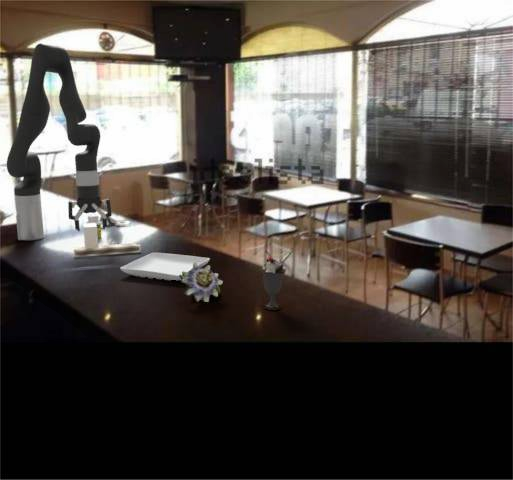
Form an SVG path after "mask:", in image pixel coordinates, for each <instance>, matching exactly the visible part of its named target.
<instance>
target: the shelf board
mask: <svg viewBox="0 0 513 480" xmlns="http://www.w3.org/2000/svg"><path fill="white" fill-rule="evenodd" d="M98 246H99V248H89V249H85V246H77V247H73V256H74V258H83V257H85V258H86V257H97V256H98V257H99V256H108V255H121V254H134V253H135V254H138V253H142V252H141V251H142V250H141V244H137V243H136V242H133V243H132V242H131V243H120V244H119V243H118V244H116V243H115V244H105V245H103V244H102V245H98Z"/></svg>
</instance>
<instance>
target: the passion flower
mask: <svg viewBox="0 0 513 480" xmlns="http://www.w3.org/2000/svg"><path fill="white" fill-rule="evenodd" d="M187 273H188V275H187V276H185V274H187ZM183 276H184V278H183ZM179 277H180V278H181V280H180V282H181V283H183V284H185V285H186V286H187V288H186V290H185V291H184V295H185V296H186V297H187V296H192V295H193V297H194V298H193V299H194V300H195V301H196V302H197V303H199V302H200V301H202V302H203V301H204V302H208V303H209V301H210V296H211V295H212V296H213V297H215V298H217V297H219V295H220V293H221V289H220V286H221V285H223V282H224V281H223V280H221V279H220V278H218V277H219V273H216V272H215V273H214V272H213V270H211V265H205V267H203V266H200V267H199V266H198V264H197V263H195V262H194V264H193V269H191V271H188V272H184V271H183V272H182V276H181V274H180V275H179ZM191 294H192V295H191ZM218 294H219V295H218ZM204 302H203V303H204Z"/></svg>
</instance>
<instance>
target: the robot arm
mask: <svg viewBox="0 0 513 480" xmlns="http://www.w3.org/2000/svg"><path fill="white" fill-rule="evenodd" d="M71 62H72V61H71V59H70V56H69V53H68V51H67V50H66V49H65V48H64V47H62V46H60V45H55V44H54V45H53V44H49V43H43V42H42V43H38V44H36V46H35V47H34V49H33V52H32V56H31V63H30V70H29V78H28V83H27V88H26V92H25V97H24V100H23V103H22V106H21V107H22V108H21V112H20V116H19V121H18V124H17V129H16V132H15V136H14V139H13V142H12V144H11V147H10V150H9V153H8V155H7V159H6V170H7V172H8V174H9V175H10V176H11V177H13V178H23V179H22V181H21V183H19V184H18V185H16V186H14V189H13V192H14V201H15V213H16V216H15V219H16V230H17V239H18V241H35V240H36V241H37V240H41V239H44V237H45V231H44V220H43V219H44V218H43V209H42V197H41V188H42V166H41V160H40V157H39V156H38V154H37V153H35V152H34V151H29V150H30V149H31V146H32V144H33V143H34V142H35V141H36V140H37V138H38V137H39V136H40V135H41V134H42V132H43V131H44V130H45V128H46V127H47V124H48V121H49V118H50V112H51V106H50V101H49V98H48V96H47V94H46V89H45V85H44V82H45V76H46V73H53V74H57V75H58V76H59V78H60V80H61V87H60V91H59V94H58V100H59V101H58V102H59V106H60V109H61V110H62V112H63V115H64V117H65V118H64V119H65V124H66V133H67V134H66V135H67V136H66V137H67V139H68V141H69V143H71V144H72V145H73V146H77V147H80V146H86V148H85V149H84V151H82V152H78V153H77V154H75V157H74V160H75V161H74V162H75V163H74V164H75V183H76V185H75V186H76V195H77V196H76V197H77V198H76V199H77V200H76V201H71V200H69V201H67V202H68V219H69V220H73V221H74V228H75V229H74V230H76V231H77V232H80V231H81V229H80V227H81V226H80V220H79V219H80V217H81V216H82V215H83V213H84V214H90V213H91V214H95V213H96V212H97V213H98V214H99V215H100V217H101V216H102V217H103V218H102V225H103V229H102V230H106V229H105V227H107V218H108V217H112V216H113V215H112V207H111V201H110V199H109V198H106V199H101V191H100V189H101V188H100V177H99V171H98V160H97V159H98V158H97V157H98V152H99V147H100V142H101V131H100V129H99V127H98V126H97V125H96V124H93V123H82V122H84V121H85V120H86V119H87V112H86V108H85V107H84V104H83V102H82V99H81V98H80V93H79V92H78V91H79V90H78V87H77V85H76V80H75V79H76V78H75V75H74V70H73V66H72V63H71ZM102 204H103V205H104V206H105V207H106V212H107V213H106V214H104V212H103V210H102V209H101V208H100V207H101V206H102ZM76 206H77V207H78V208H79V209H78V211H77V212H76V214H75V215H73V209H74V208H75V207H76ZM107 228H108V227H107Z"/></svg>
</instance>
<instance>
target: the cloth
mask: <svg viewBox="0 0 513 480" xmlns="http://www.w3.org/2000/svg"><path fill="white" fill-rule="evenodd" d="M103 213H104V214H106V213H107V211H104V212H103ZM102 218H103V217H102V216H101V215H100V217H99V219H98V221H100V222H101V228H102V229H101V230H107V229H106V227H105V229H103V225H102ZM84 224H86V222H85V223H84ZM130 224H131V222H130V221H128V220H117V219H114V218H113V217H112V216H110V217H108V218H107V228H108V227H110V226H113V225H114V227H120V226H125V227H126V226H127V227H126V228H128V226H129V227H130ZM125 227H124V228H125Z"/></svg>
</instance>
